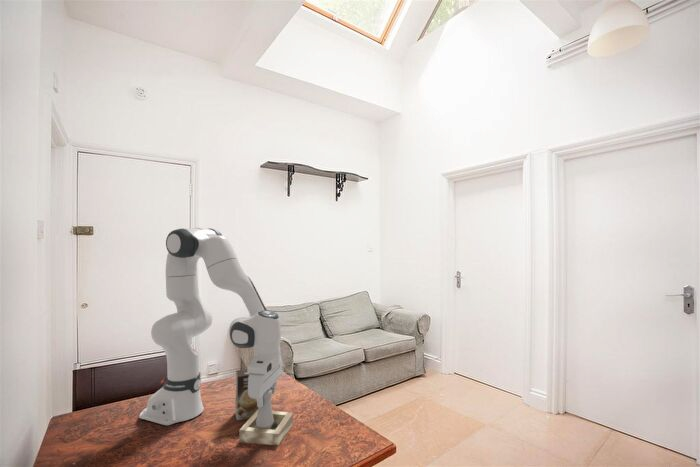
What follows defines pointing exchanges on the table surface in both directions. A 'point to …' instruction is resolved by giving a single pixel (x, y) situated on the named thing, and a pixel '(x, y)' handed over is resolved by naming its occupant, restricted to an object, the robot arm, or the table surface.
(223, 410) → the table surface
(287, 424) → the socket block
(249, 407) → the coffee box
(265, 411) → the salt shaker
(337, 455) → the table surface
